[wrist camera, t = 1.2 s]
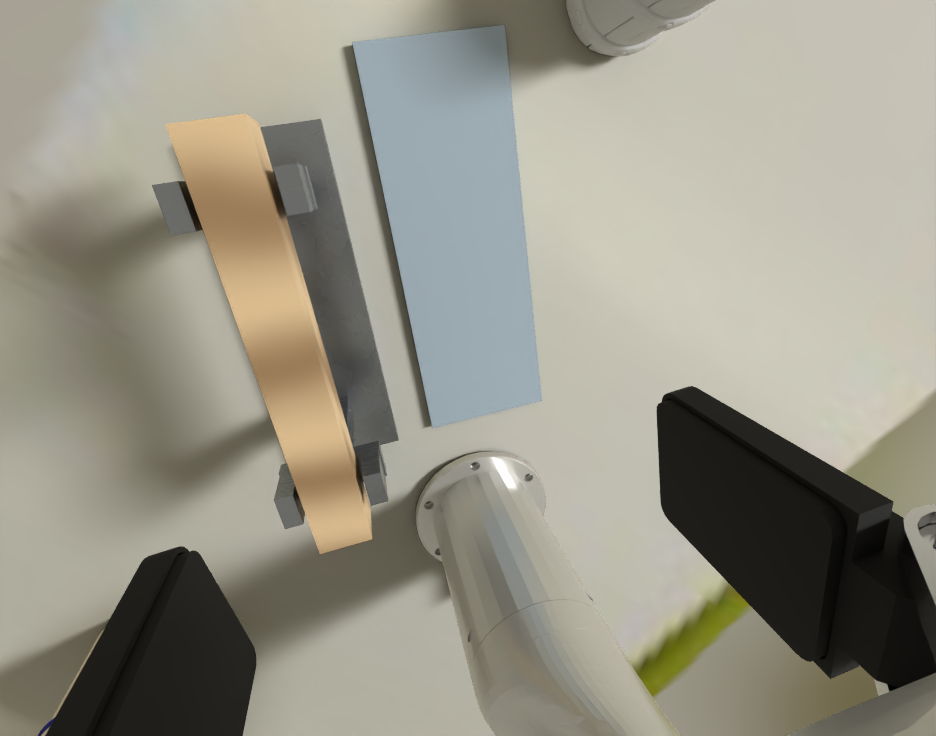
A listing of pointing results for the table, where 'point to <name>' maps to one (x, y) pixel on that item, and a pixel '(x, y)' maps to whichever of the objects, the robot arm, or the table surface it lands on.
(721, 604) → the table surface
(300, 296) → the oak rail
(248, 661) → the robot arm
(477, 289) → the slate mat
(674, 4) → the mug
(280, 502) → the stand
